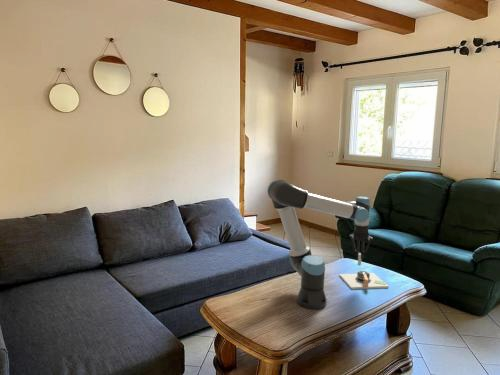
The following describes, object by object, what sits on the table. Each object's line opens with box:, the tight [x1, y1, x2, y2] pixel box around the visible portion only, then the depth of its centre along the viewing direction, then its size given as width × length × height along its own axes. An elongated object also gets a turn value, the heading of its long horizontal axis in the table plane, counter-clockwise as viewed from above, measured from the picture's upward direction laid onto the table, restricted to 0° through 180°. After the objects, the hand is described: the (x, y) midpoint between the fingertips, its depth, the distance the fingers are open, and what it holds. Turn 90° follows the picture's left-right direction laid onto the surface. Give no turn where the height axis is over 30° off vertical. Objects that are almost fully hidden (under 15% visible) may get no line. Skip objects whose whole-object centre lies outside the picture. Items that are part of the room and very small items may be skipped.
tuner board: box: [338, 272, 390, 290], centre depth 215 cm, size 23×19×1 cm
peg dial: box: [356, 270, 370, 288], centre depth 210 cm, size 16×7×4 cm, turn 172°
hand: (359, 264), depth 206 cm, fingers closed
